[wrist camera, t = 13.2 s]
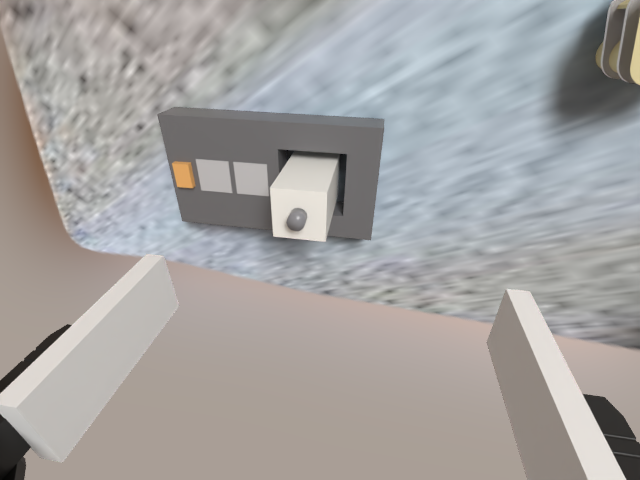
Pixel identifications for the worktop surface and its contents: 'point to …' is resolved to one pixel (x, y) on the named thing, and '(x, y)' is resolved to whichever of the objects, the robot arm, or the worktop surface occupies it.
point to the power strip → (265, 163)
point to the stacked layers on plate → (621, 42)
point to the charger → (305, 196)
